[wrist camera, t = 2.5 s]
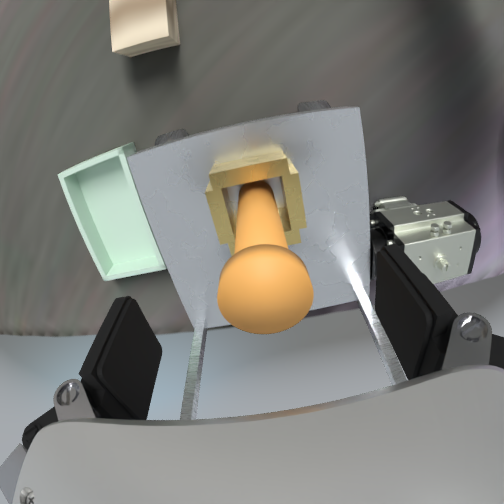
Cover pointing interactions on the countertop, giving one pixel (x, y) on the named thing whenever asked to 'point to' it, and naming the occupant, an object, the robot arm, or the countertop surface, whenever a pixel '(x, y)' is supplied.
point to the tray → (112, 215)
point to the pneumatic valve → (426, 236)
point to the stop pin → (262, 269)
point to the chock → (143, 26)
